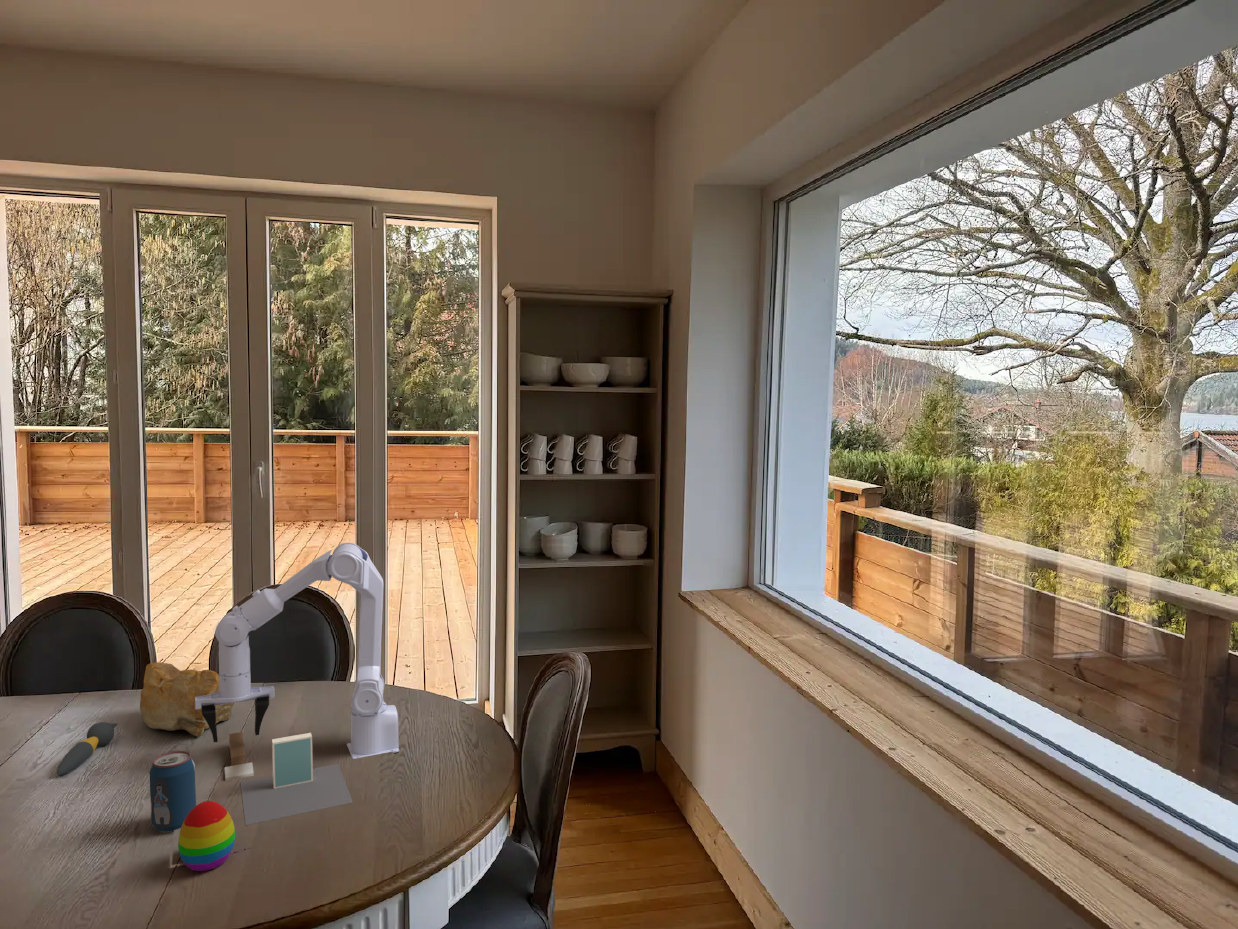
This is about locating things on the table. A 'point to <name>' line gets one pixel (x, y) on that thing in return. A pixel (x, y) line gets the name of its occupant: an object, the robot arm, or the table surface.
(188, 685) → the rough brown rock
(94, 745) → the paintbrush
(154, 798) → the soda can
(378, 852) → the table surface
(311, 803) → the mat
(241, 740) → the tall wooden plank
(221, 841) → the decorative egg
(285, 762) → the tile
